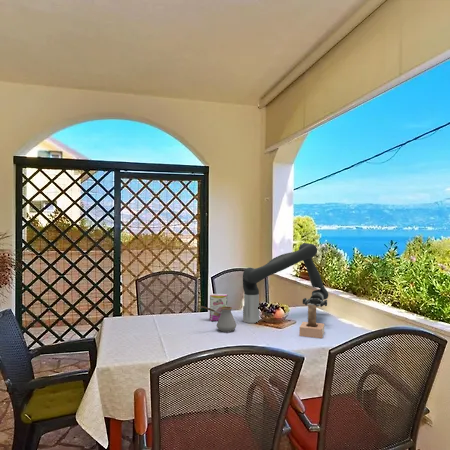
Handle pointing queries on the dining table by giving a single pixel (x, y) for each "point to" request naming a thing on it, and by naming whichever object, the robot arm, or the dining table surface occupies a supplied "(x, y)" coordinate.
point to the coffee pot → (224, 319)
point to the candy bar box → (217, 305)
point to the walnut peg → (311, 315)
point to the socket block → (311, 330)
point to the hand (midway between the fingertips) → (313, 304)
